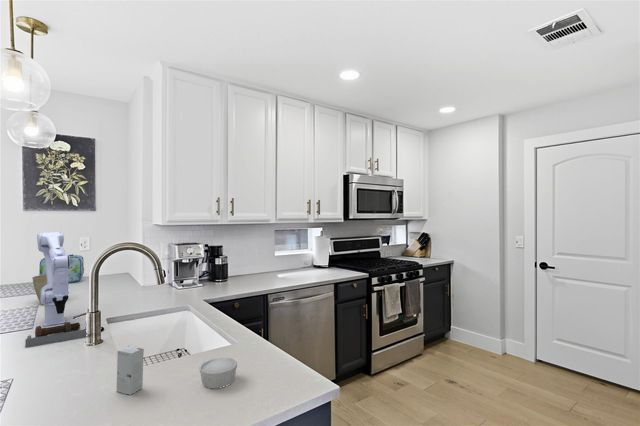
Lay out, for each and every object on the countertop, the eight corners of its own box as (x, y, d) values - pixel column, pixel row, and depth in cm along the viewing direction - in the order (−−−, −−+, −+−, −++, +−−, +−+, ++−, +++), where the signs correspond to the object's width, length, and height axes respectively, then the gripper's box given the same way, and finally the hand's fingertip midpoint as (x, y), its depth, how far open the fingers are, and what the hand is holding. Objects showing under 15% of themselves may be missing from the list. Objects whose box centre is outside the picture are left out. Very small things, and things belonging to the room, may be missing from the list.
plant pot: (64, 304, 193) (64, 276, 193) (30, 308, 184) (30, 279, 184) (66, 298, 205) (66, 272, 205) (34, 302, 197) (34, 275, 197)
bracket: (28, 341, 137) (28, 334, 137) (87, 331, 148) (87, 324, 148) (25, 347, 131) (25, 339, 131) (88, 336, 143) (88, 329, 143)
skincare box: (115, 391, 99) (115, 350, 99) (129, 384, 103) (129, 344, 103) (130, 395, 96) (130, 353, 96) (144, 388, 101) (144, 347, 101)
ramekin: (207, 373, 110) (207, 356, 110) (241, 373, 110) (241, 357, 110) (193, 391, 99) (193, 373, 99) (231, 391, 99) (231, 373, 99)
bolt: (79, 334, 150) (36, 343, 139) (77, 326, 153) (34, 334, 142) (81, 324, 149) (37, 332, 137) (79, 316, 152) (36, 323, 140)
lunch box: (85, 279, 263) (84, 252, 263) (82, 282, 253) (81, 254, 253) (43, 282, 252) (43, 254, 252) (38, 285, 242) (38, 256, 242)
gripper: (50, 281, 154) (50, 311, 154) (47, 286, 143) (47, 319, 143) (69, 279, 158) (69, 308, 158) (68, 284, 147) (68, 316, 147)
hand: (60, 313), depth 151 cm, fingers closed
